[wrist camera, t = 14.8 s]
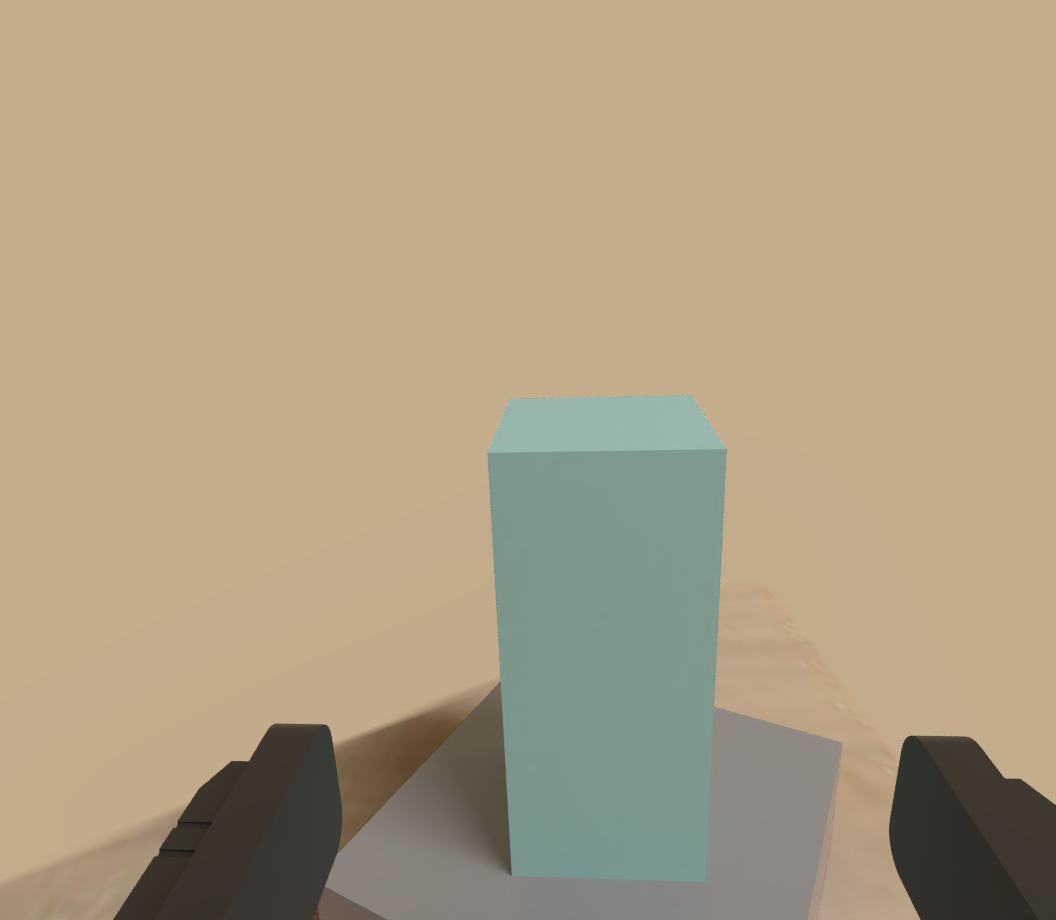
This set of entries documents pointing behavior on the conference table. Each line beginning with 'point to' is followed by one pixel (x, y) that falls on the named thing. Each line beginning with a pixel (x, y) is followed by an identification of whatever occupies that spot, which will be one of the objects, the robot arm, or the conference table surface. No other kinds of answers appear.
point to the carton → (607, 632)
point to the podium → (583, 903)
